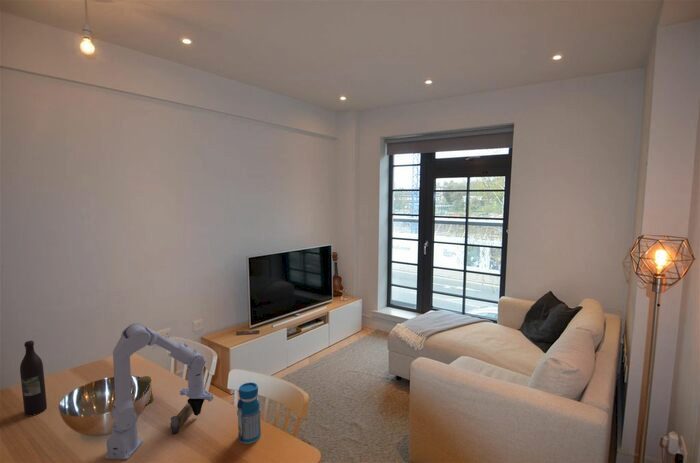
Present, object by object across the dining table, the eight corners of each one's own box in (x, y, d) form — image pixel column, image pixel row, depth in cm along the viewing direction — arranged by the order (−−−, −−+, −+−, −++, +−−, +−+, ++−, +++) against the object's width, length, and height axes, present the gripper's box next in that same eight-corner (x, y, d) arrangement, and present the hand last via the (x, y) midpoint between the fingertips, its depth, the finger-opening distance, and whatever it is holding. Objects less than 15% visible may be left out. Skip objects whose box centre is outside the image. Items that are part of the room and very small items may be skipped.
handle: (178, 429, 140) (178, 418, 139) (174, 429, 140) (174, 418, 139) (194, 409, 152) (194, 399, 152) (190, 409, 153) (190, 399, 152)
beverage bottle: (251, 447, 131) (249, 395, 129) (233, 440, 135) (231, 389, 132) (265, 433, 139) (264, 384, 136) (248, 427, 142) (247, 378, 140)
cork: (156, 398, 161) (155, 374, 160) (147, 406, 155) (146, 381, 154) (143, 397, 162) (142, 373, 160) (134, 405, 156) (132, 380, 154)
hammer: (176, 434, 137) (175, 420, 137) (165, 434, 138) (164, 419, 137) (202, 400, 159) (201, 387, 159) (193, 400, 160) (192, 387, 159)
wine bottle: (20, 414, 148) (12, 344, 145) (38, 404, 155) (31, 337, 152) (33, 417, 147) (26, 346, 143) (51, 407, 154) (44, 339, 150)
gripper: (217, 380, 147) (219, 411, 149) (188, 374, 152) (189, 405, 153) (205, 389, 141) (207, 422, 142) (175, 383, 145) (177, 414, 147)
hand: (197, 414), depth 147 cm, fingers closed
